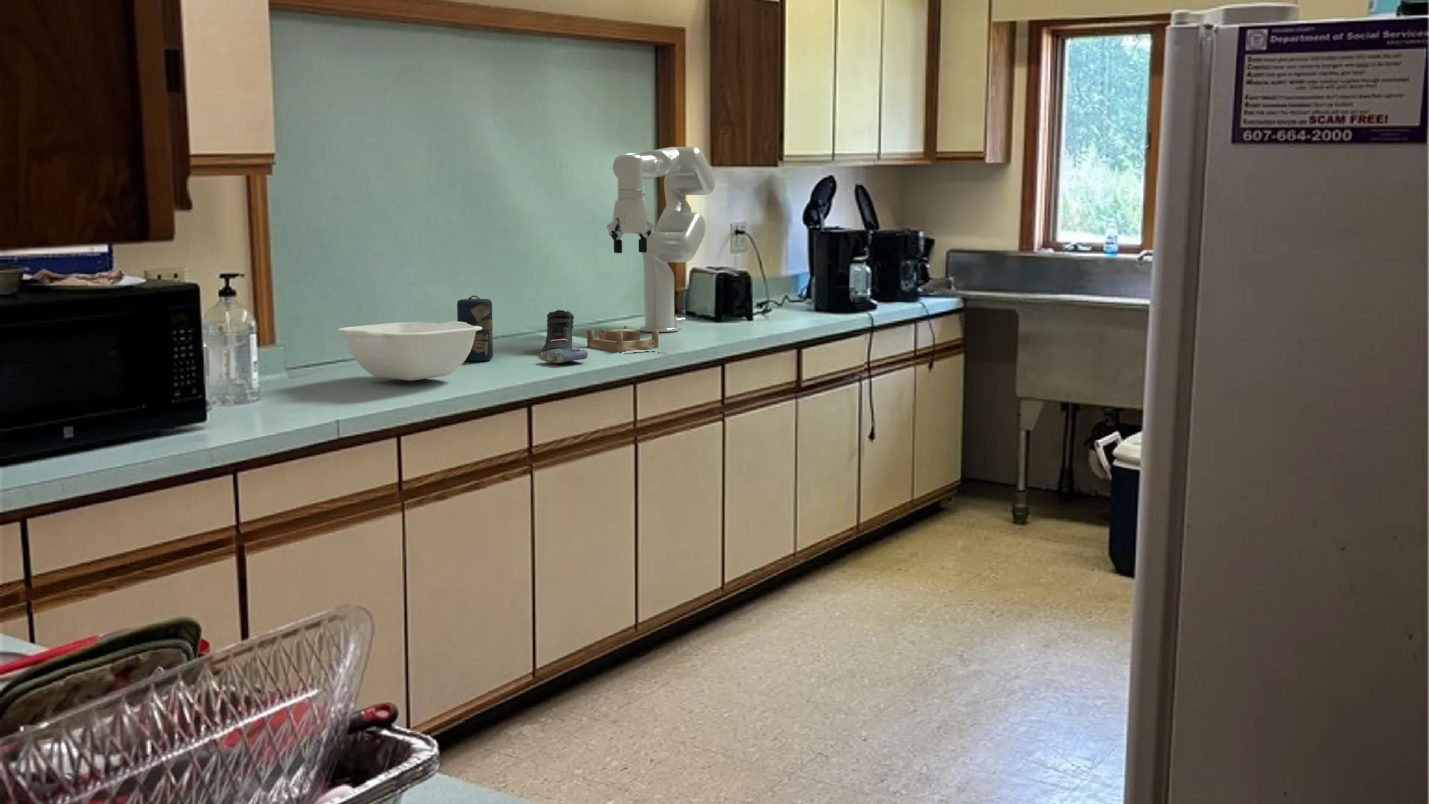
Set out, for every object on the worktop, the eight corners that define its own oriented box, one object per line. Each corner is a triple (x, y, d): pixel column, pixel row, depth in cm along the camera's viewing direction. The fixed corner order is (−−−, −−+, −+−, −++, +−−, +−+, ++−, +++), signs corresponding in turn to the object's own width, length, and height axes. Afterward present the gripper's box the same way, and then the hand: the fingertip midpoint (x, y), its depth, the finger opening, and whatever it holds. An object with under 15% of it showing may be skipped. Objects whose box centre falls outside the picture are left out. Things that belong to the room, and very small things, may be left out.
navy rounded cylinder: (464, 363, 371) (462, 297, 369) (453, 360, 380) (452, 294, 377) (498, 361, 376) (496, 296, 373) (487, 358, 384) (485, 294, 382)
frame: (626, 347, 416) (626, 327, 415) (659, 351, 405) (659, 330, 404) (586, 350, 406) (585, 330, 405) (618, 354, 395) (618, 333, 394)
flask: (588, 350, 374) (557, 355, 366) (588, 360, 374) (557, 366, 367) (566, 347, 380) (535, 352, 373) (567, 357, 381) (536, 362, 373)
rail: (626, 346, 416) (625, 325, 415) (630, 346, 415) (629, 325, 414) (598, 349, 406) (598, 328, 405) (602, 350, 405) (602, 328, 404)
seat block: (624, 349, 411) (624, 328, 410) (639, 351, 405) (639, 330, 405) (606, 351, 406) (606, 330, 405) (621, 353, 401) (621, 331, 400)
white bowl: (422, 366, 365) (421, 318, 363) (501, 374, 349) (500, 324, 347) (319, 379, 337) (317, 327, 335) (400, 388, 321) (398, 334, 319)
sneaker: (541, 361, 379) (540, 314, 377) (541, 351, 404) (540, 307, 402) (576, 361, 380) (575, 314, 378) (574, 351, 405) (573, 307, 404)
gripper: (644, 196, 424) (644, 251, 426) (599, 195, 412) (600, 253, 414) (660, 196, 418) (660, 252, 421) (615, 195, 407) (615, 253, 409)
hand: (630, 252), depth 418 cm, fingers open, 9 cm apart
